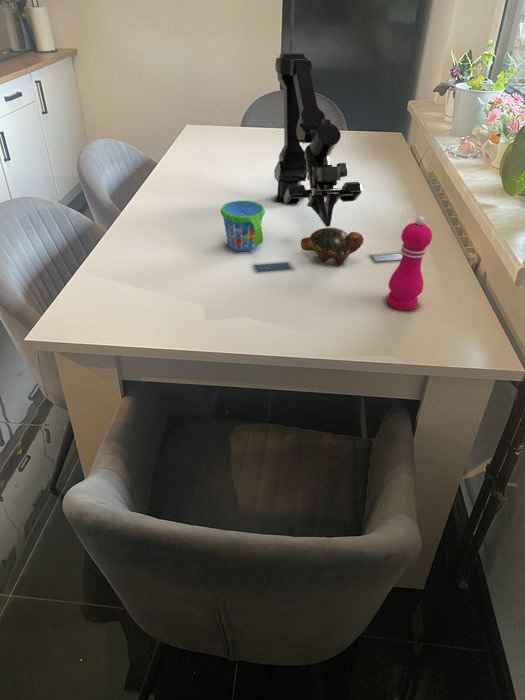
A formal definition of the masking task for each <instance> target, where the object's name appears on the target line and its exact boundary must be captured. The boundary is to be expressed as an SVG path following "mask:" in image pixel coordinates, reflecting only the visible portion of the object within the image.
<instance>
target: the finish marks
mask: <svg viewBox="0 0 525 700" xmlns="http://www.w3.org/2000/svg"><path fill="white" fill-rule="evenodd" d="M371 257H372V259H373V260H374V261H375V262H376V263H380V262H391V261H401V259H402V253H395V254H394V253H393V254H392V253H391V254H380V255H371ZM255 268H256V270H257V272H258V273H259V272H270V271H283V270H291V269H292V268H291V266H290V265H289V263H288V262H280V263H266V264H255Z"/></svg>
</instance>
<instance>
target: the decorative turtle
mask: <svg viewBox="0 0 525 700" xmlns="http://www.w3.org/2000/svg"><path fill="white" fill-rule="evenodd" d="M362 245H364V237H363V235H362V233H359V232H358V231H351V232H349V233H347V232H346V231H345V230H343V229H341V228H337V227H324V228H319V229H317V230H315V231H314V232H312V233H311V234H310V235H309V236H307V237H304V238H301V240H300V247H301V250H303V251H310V252H315V253H316V255H317V258H318V260H319V262H320V263H322V264H323V263H326V262H328V261H329V260H333V261H334V262H335V264H336V265H337V266H342V265H343V264H345V262H346V260H347V259H348V257H349V256H350V255H351V254H353V253H355V252H356V251H358V250H359V249H360V248H361V247H362Z"/></svg>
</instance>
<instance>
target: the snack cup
mask: <svg viewBox="0 0 525 700" xmlns="http://www.w3.org/2000/svg"><path fill="white" fill-rule="evenodd" d="M265 213H266V210H265V207H264V206H263V205H262V204H260V203H258V202H255V201H250V200H233V201H230V202H227V203H224V204H223V205H222V206H221V208H220V214H221V216H222V219H223V223H224V224H223V225H224V231H225V235H226V241H227V245H228V247H229V248H230V249H232V250H234V251H236V252H249V251H252V250H254V249H256V247H257V246H259V245H261V244H262V243H263V242H264V234H263V229H262V228H263V227H262V222H263V218H264V216H265Z"/></svg>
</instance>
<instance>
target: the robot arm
mask: <svg viewBox="0 0 525 700" xmlns="http://www.w3.org/2000/svg"><path fill="white" fill-rule="evenodd" d="M311 60H312V59H311V58H309V57H306V56H305V54H304V53H303V52H281V53H280V54H279V57H276V58H275V63H274V64H275V65H274V66H275V72H276V73H277V81H278V82H279V84H280V86H281V88H282V89H283V129H284V130H283V132H284V134H283V135H284V136H283V138H284V139H283V141H284V144H283V147H282V149H281V150H280V153H279V155H278V161H277V163H276V165H275V168H274V171H273V174H274V176H273V177H274V180H276V182H277V195H276V198H275V199H274V201H275V202H279V203H284V205H285V206H293V205H294V206H295V205H298V203H299V202H300V200H301V199H307V200H308V202H307V207H308V208H311V209H312V210H313V211H314V212H315V213H316V215H317V216H318V217H319V219H320V220H321V222H322V223H323V225H324V226H325V228H330V226H331V222H332V217H333V213H334V212H333V211H334V207H335V205H336V204H337V202H338V201H339V200H341V202H343V203H344V202H345V203H346V202H347V203H348V202H354V201H356V200H357V199H358V198H359V196H361V194H362V193H363V186H362V184H361V183H360V182H359V181H348V182H345V183H343V185H342V186H341V187H335V186H337V184H338V181H341V180H342V179H341V178H346V177H347V176H348V167H347V166H348V165H347V163H346V162H339V163H337V164H336V166H333V164H330V163H331V162H330V158H329V157H330V156H331V155H332V154H333V152H334V150H335V148H336V146H337V145H338V144H339V142H340V139H341V137H342V135H341V131H340V130H339V128H338V126H336V125H335V124H333V123H331V119H328V118H326V114H325V113H324V111H322V110H321V109H320V108H319V106H318V101H317V97H316V90H315V86H314V81H313V80H314V79H313V75H312V70H313V69H312V67H313V65H312V61H311ZM301 143H302V144H308V145H307V146H306V147H305V149H303V147H302V144H301ZM306 181H308V182H309V183H308V184H309V189H306V187H305V185H304V184H302V182H306Z"/></svg>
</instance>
